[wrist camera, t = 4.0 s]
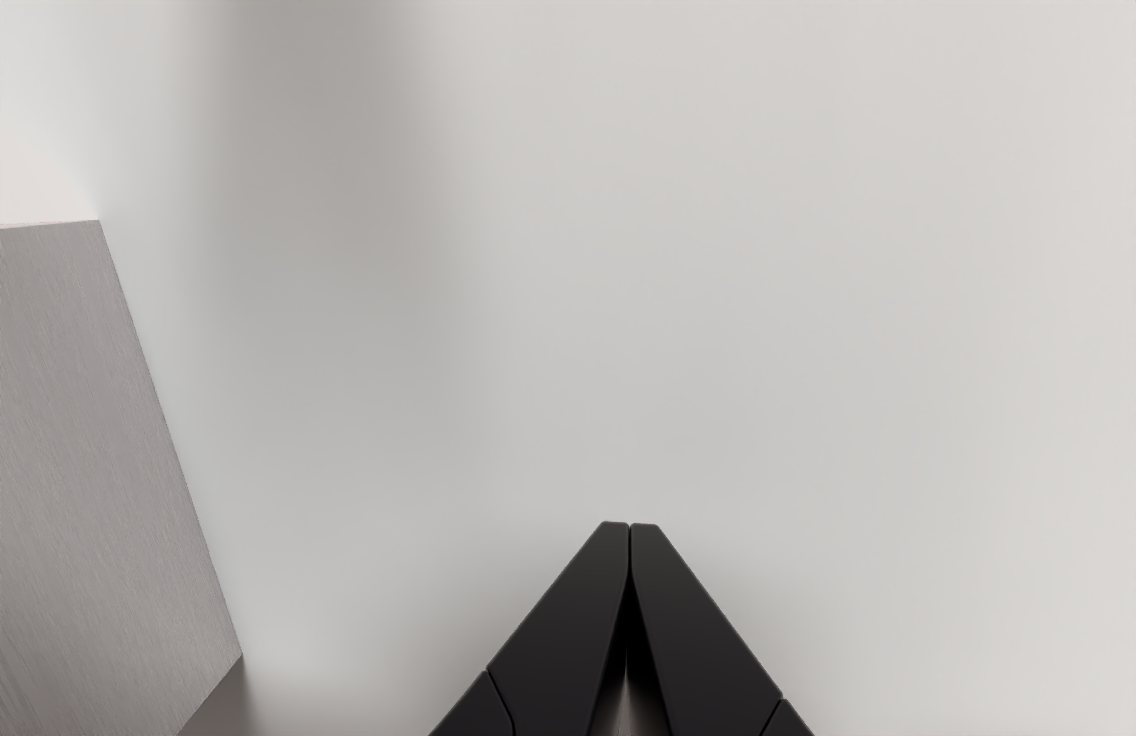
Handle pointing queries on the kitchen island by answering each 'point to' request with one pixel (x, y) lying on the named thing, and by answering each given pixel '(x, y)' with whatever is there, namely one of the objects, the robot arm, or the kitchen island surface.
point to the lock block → (93, 510)
